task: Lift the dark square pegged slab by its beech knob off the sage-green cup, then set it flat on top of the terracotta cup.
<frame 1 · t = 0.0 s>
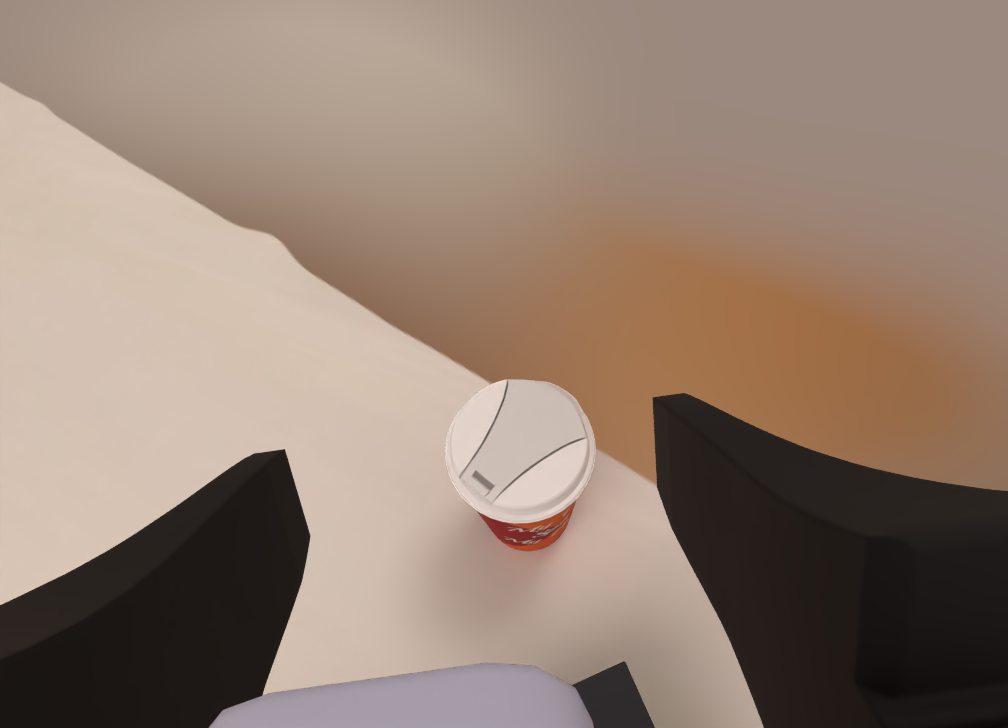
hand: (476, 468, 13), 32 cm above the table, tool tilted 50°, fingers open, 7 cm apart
paper cup: (528, 510, 45), on the table
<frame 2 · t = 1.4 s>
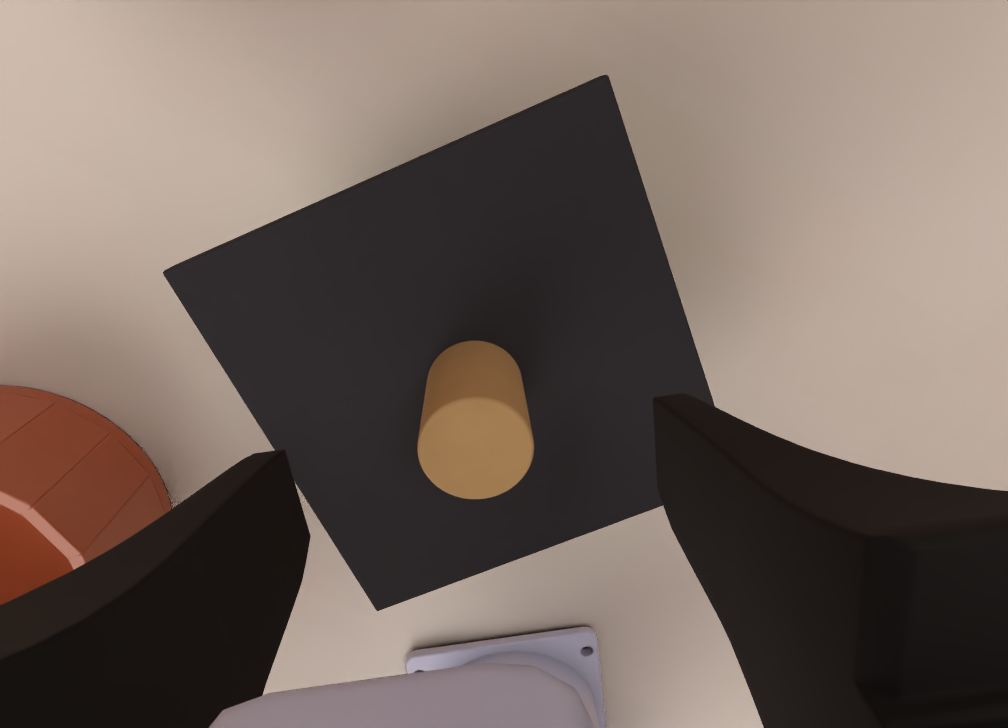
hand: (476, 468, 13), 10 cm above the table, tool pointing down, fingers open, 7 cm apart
terracotta cup: (34, 506, 24), on the table
dark square pegged slab: (474, 375, 17), point 5 cm above the table, touching sage cup
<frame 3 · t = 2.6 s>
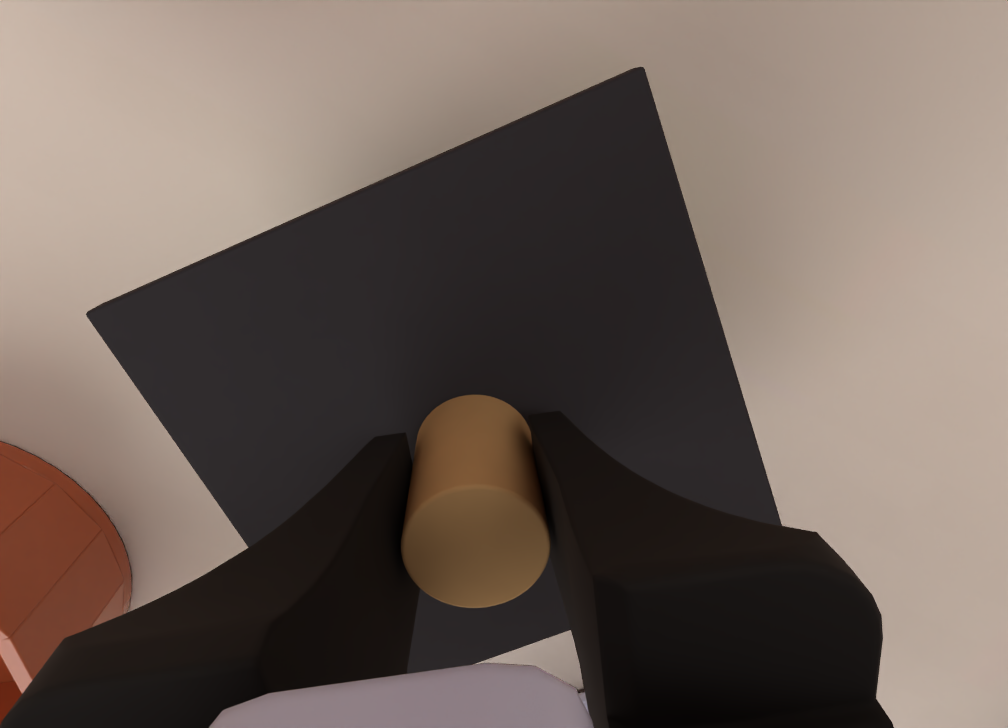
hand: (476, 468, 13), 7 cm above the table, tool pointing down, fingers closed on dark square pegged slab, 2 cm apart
dark square pegged slab: (474, 432, 14), point 5 cm above the table, touching gripper, sage cup
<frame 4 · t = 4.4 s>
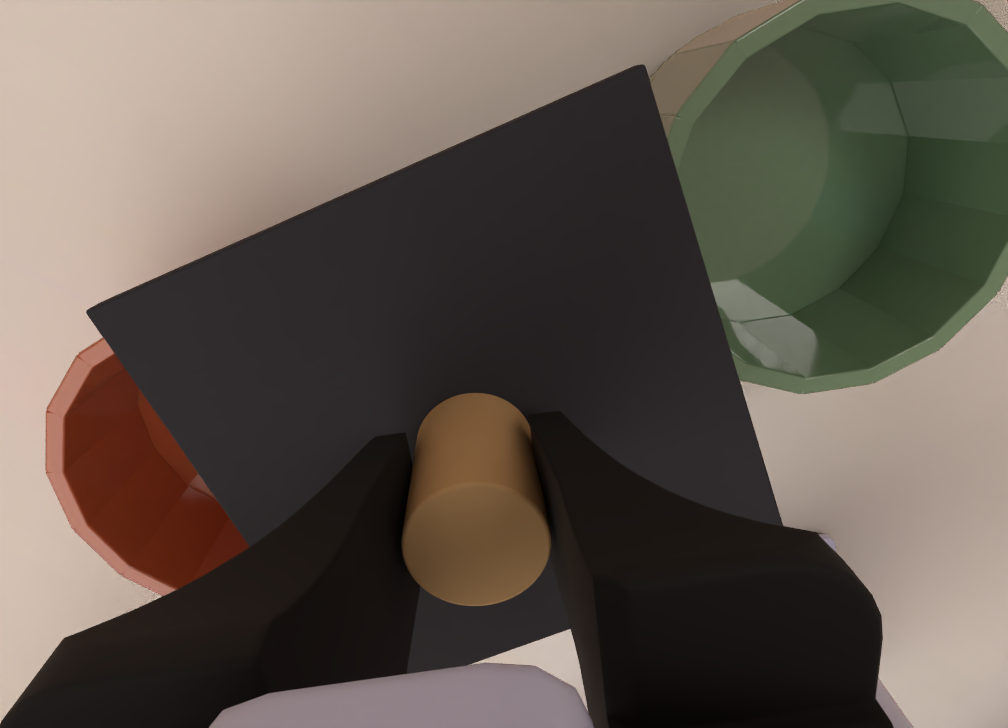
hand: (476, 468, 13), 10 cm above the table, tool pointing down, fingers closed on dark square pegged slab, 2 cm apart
sage cup: (757, 183, 21), on the table
terracotta cup: (277, 400, 23), on the table
dark square pegged slab: (474, 430, 14), point 9 cm above the table, touching gripper
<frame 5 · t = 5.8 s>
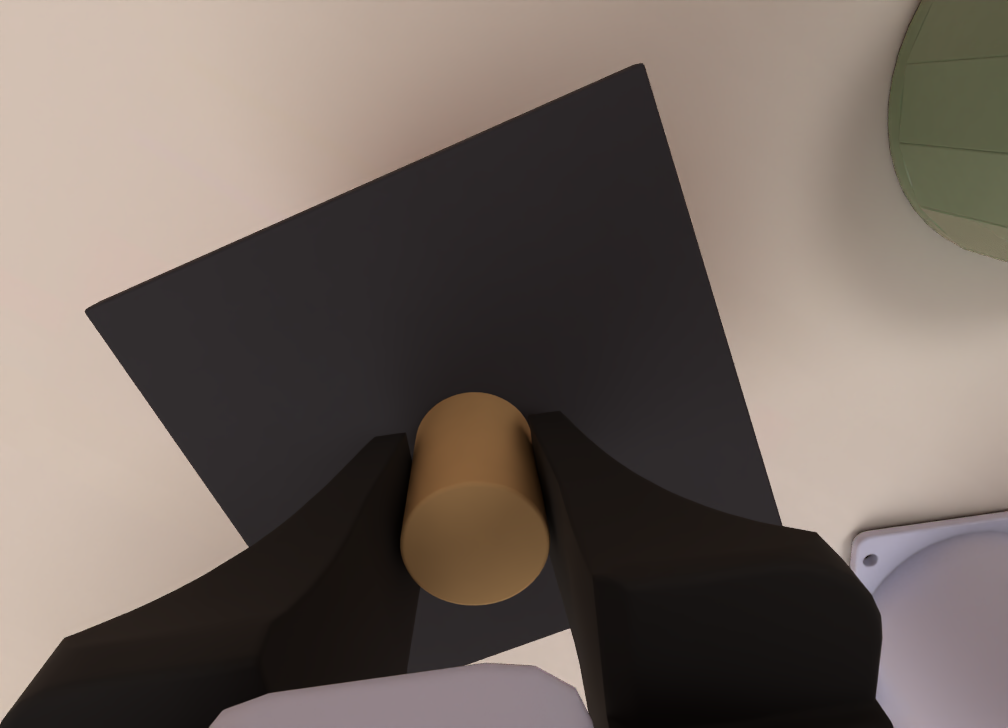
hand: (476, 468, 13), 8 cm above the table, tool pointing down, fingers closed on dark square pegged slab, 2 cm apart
dark square pegged slab: (473, 430, 14), point 6 cm above the table, touching gripper
when the fingers open (6 cm above the table, at t = 6.4 s): dark square pegged slab stays where it is, resting on terracotta cup.
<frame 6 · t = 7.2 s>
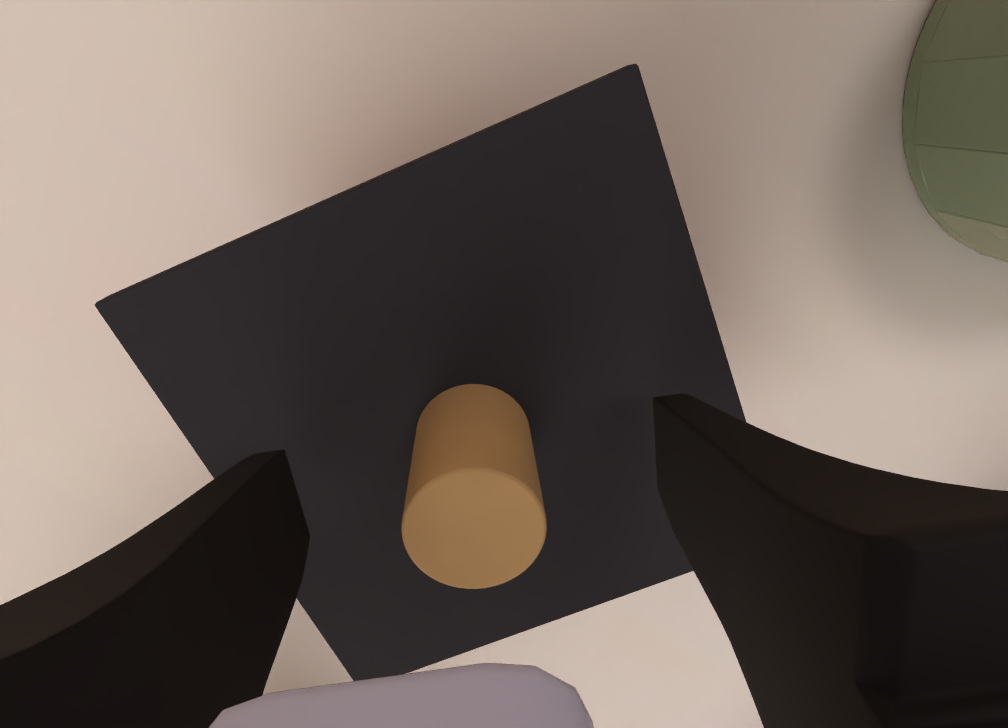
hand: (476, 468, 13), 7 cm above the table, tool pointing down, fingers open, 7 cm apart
dark square pegged slab: (473, 421, 14), point 5 cm above the table, touching terracotta cup
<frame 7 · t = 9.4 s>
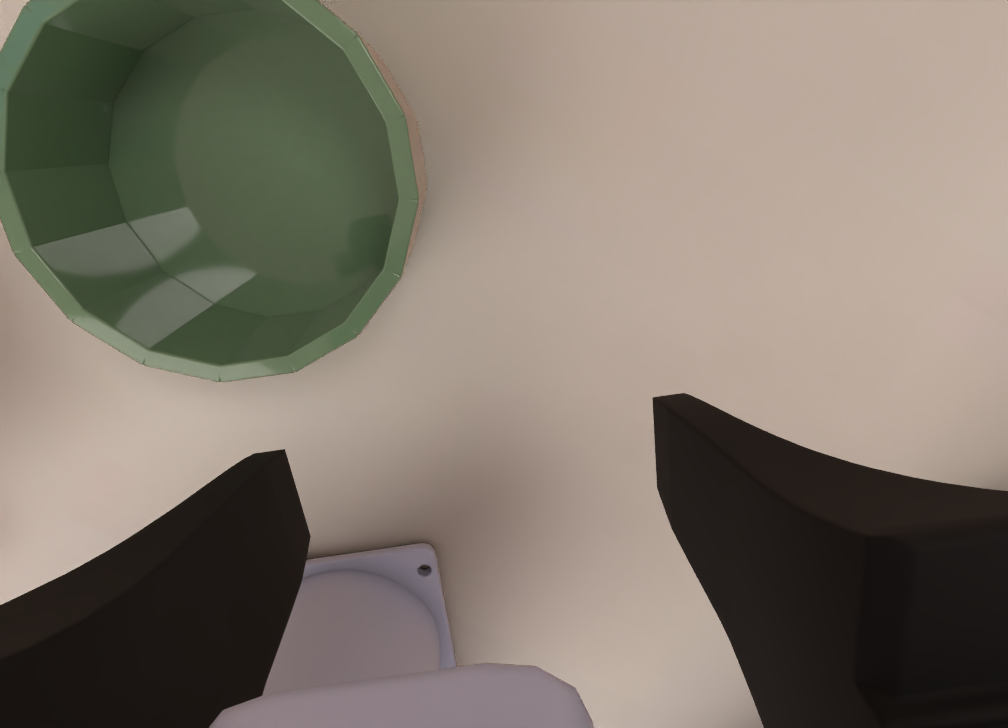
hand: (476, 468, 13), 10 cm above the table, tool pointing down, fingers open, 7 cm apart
sage cup: (268, 173, 21), on the table
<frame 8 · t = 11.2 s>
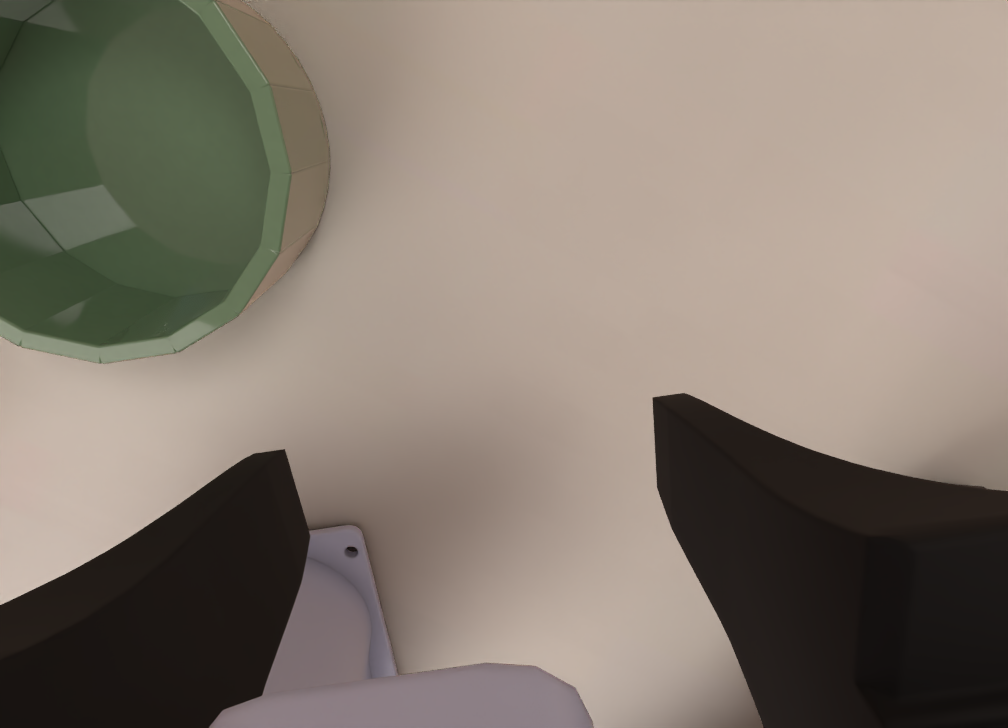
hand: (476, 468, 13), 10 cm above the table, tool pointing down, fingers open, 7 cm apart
sage cup: (166, 148, 20), on the table
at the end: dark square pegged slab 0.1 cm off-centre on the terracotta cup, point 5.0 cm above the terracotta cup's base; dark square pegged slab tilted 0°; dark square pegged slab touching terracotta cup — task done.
